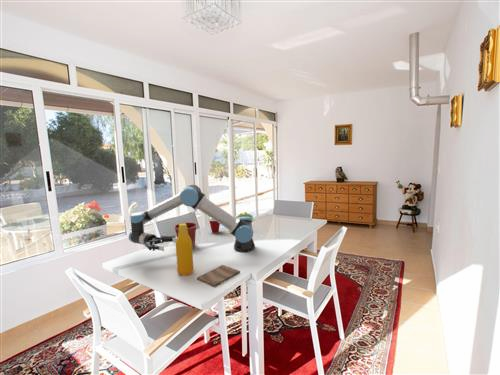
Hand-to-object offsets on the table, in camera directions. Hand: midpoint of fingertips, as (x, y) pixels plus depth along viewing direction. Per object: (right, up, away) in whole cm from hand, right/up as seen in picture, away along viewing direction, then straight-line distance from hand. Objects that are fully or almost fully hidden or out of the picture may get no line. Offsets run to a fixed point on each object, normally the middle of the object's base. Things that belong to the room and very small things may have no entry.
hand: (172, 244), depth 158 cm
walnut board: (+29, -16, -9) cm, 34 cm away
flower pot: (-1, -10, +40) cm, 41 cm away
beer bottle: (+9, -16, -3) cm, 18 cm away
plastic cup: (+16, -5, +72) cm, 74 cm away
